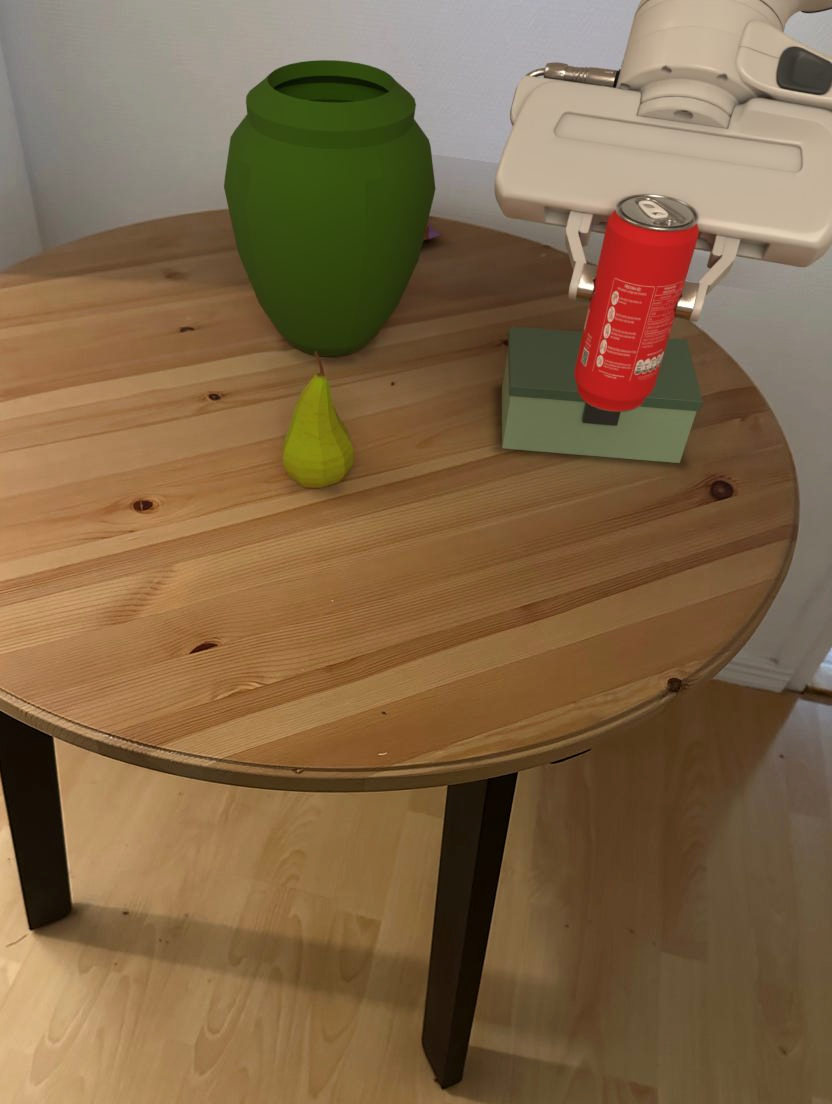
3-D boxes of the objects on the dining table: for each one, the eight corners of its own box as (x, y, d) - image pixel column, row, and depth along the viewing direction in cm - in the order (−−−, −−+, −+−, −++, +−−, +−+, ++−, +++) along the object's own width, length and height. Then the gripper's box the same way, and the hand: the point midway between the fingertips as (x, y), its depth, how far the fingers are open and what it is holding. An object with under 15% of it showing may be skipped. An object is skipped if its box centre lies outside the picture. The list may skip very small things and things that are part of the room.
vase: (437, 308, 107) (462, 59, 90) (399, 403, 94) (419, 133, 77) (266, 282, 110) (258, 36, 93) (206, 371, 97) (183, 104, 80)
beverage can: (591, 420, 63) (637, 234, 54) (558, 377, 66) (596, 195, 57) (664, 410, 64) (720, 226, 55) (628, 368, 67) (675, 189, 59)
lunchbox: (667, 398, 96) (686, 336, 91) (683, 468, 88) (704, 404, 84) (499, 385, 97) (509, 323, 92) (499, 453, 89) (510, 389, 84)
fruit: (319, 512, 83) (320, 387, 74) (266, 481, 85) (261, 357, 77) (368, 478, 86) (375, 354, 77) (316, 450, 89) (316, 327, 80)
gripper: (521, 27, 58) (462, 257, 59) (886, 75, 54) (818, 321, 55) (525, 87, 65) (471, 294, 65) (852, 133, 60) (792, 354, 61)
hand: (633, 307), depth 60 cm, fingers closed on beverage can, 5 cm apart
